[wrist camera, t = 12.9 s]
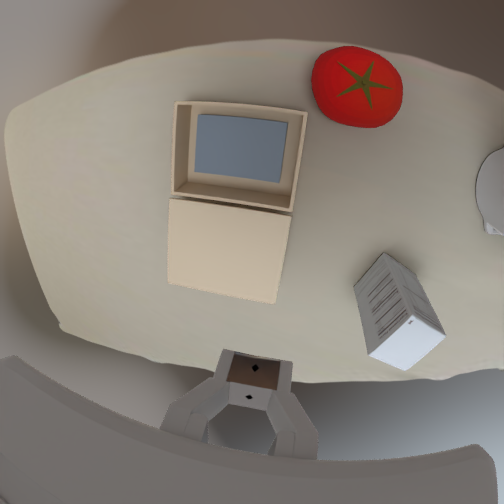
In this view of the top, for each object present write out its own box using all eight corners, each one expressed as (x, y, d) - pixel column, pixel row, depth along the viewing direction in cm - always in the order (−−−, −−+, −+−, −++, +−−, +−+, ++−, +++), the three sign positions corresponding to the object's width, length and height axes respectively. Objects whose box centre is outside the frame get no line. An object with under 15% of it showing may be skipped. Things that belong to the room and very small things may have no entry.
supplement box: (352, 287, 49) (364, 355, 35) (383, 250, 45) (411, 313, 30) (386, 307, 50) (405, 373, 36) (417, 274, 46) (448, 337, 31)
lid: (275, 304, 43) (275, 302, 44) (291, 216, 38) (291, 215, 39) (167, 282, 45) (169, 281, 46) (169, 198, 40) (171, 197, 40)
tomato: (310, 50, 32) (313, 31, 23) (390, 63, 30) (415, 51, 21) (308, 120, 37) (311, 122, 28) (387, 131, 35) (412, 138, 26)
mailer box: (306, 112, 37) (307, 112, 31) (293, 199, 44) (292, 212, 38) (190, 101, 38) (174, 101, 33) (185, 183, 45) (171, 194, 40)
